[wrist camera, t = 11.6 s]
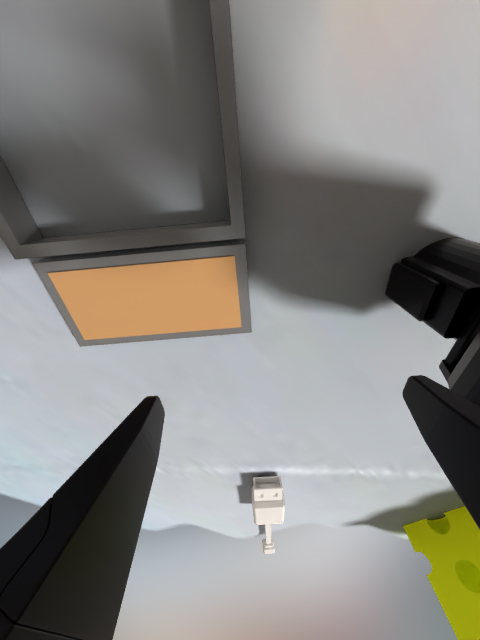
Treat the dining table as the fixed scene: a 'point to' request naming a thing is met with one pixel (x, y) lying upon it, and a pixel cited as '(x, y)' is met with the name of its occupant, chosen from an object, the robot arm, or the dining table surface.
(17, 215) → the gray rectangular frame
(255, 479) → the charging cable
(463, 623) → the cheese wedge
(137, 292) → the lid
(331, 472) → the dining table surface
